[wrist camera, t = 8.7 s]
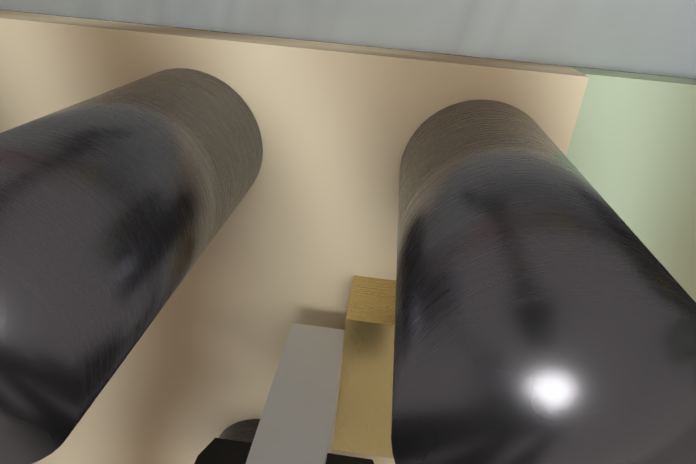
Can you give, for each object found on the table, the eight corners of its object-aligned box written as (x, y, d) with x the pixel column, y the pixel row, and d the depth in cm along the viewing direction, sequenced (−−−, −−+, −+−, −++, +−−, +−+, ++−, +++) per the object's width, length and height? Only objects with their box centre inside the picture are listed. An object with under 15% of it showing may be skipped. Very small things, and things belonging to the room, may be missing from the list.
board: (-64, 421, 21) (-94, 450, 19) (-239, -14, 13) (-304, -13, 12) (639, 523, 19) (656, 561, 18) (873, 97, 12) (928, 110, 11)
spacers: (-120, 434, 19) (-429, 703, 12) (-320, 15, 13) (-1274, 68, 5) (454, 518, 18) (487, 872, 11) (570, 108, 11) (846, 329, 4)
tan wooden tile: (340, 396, 16) (332, 449, 14) (353, 275, 14) (345, 319, 12) (484, 417, 16) (494, 473, 14) (519, 296, 14) (536, 344, 12)
